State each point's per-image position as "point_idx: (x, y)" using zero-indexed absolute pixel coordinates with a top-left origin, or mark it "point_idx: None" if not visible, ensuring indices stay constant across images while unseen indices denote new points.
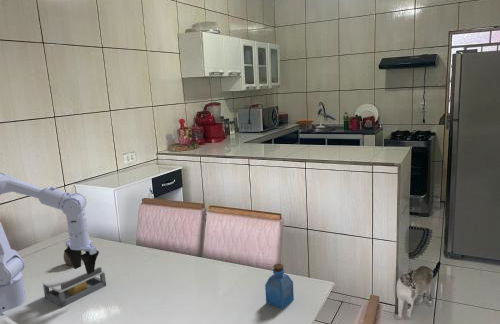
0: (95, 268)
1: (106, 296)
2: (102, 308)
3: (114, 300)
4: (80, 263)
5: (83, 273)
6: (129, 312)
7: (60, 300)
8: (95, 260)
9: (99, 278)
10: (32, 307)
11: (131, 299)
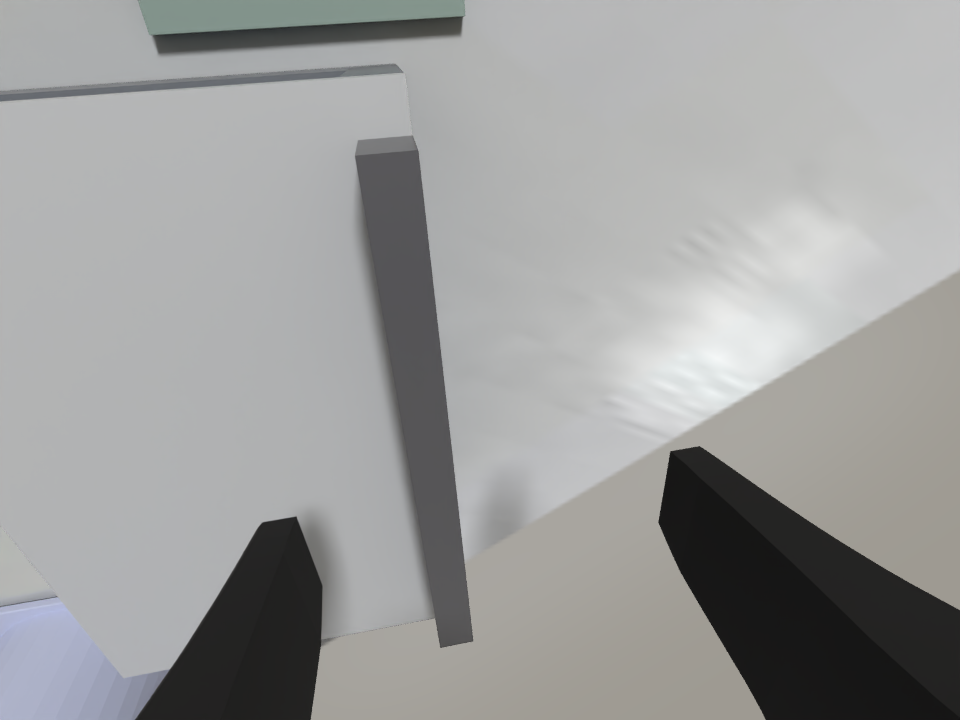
0: (139, 125)
1: (571, 179)
2: (701, 302)
3: (704, 171)
4: (286, 572)
5: (211, 352)
6: (949, 199)
7: None
8: (940, 609)
9: (239, 80)
10: None
11: (855, 49)
